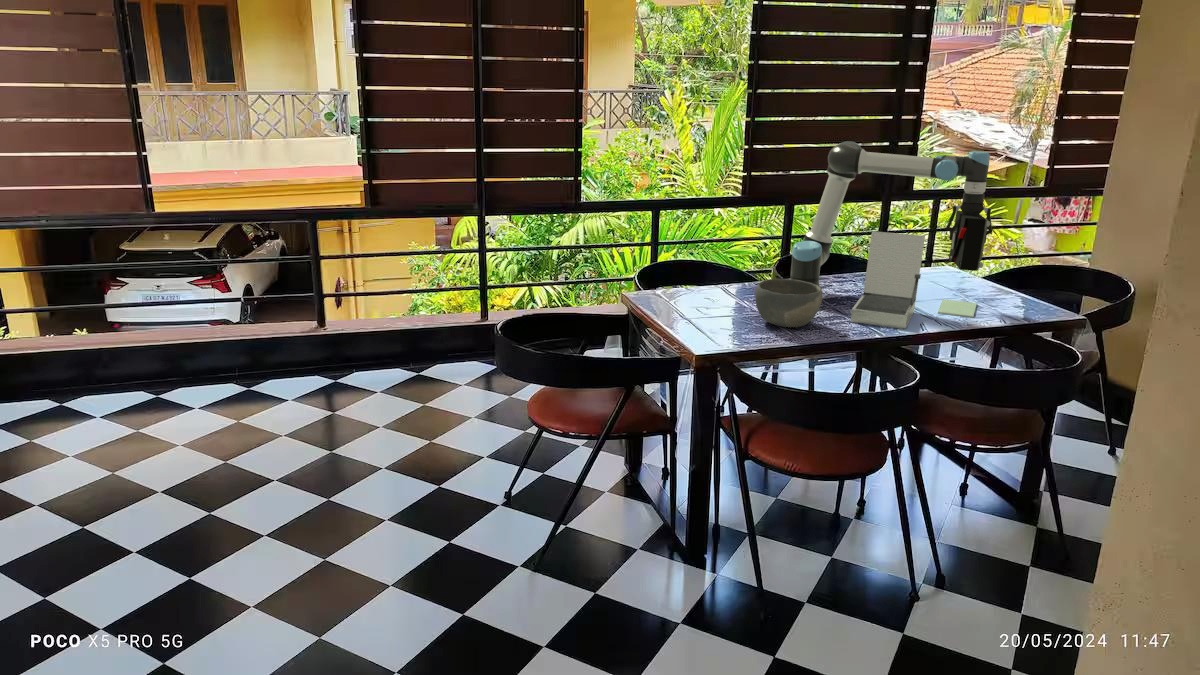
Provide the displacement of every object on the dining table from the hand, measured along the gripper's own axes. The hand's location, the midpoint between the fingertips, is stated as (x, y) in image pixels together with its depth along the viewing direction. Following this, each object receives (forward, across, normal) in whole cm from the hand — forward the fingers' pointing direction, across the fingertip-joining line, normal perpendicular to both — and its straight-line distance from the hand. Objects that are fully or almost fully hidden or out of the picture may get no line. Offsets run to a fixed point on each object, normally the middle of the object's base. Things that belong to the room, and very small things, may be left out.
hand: (966, 249), depth 331 cm
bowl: (+24, -56, -53) cm, 81 cm away
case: (+24, -25, -23) cm, 42 cm away
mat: (+24, 0, 0) cm, 24 cm away
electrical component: (+6, 0, 0) cm, 6 cm away
